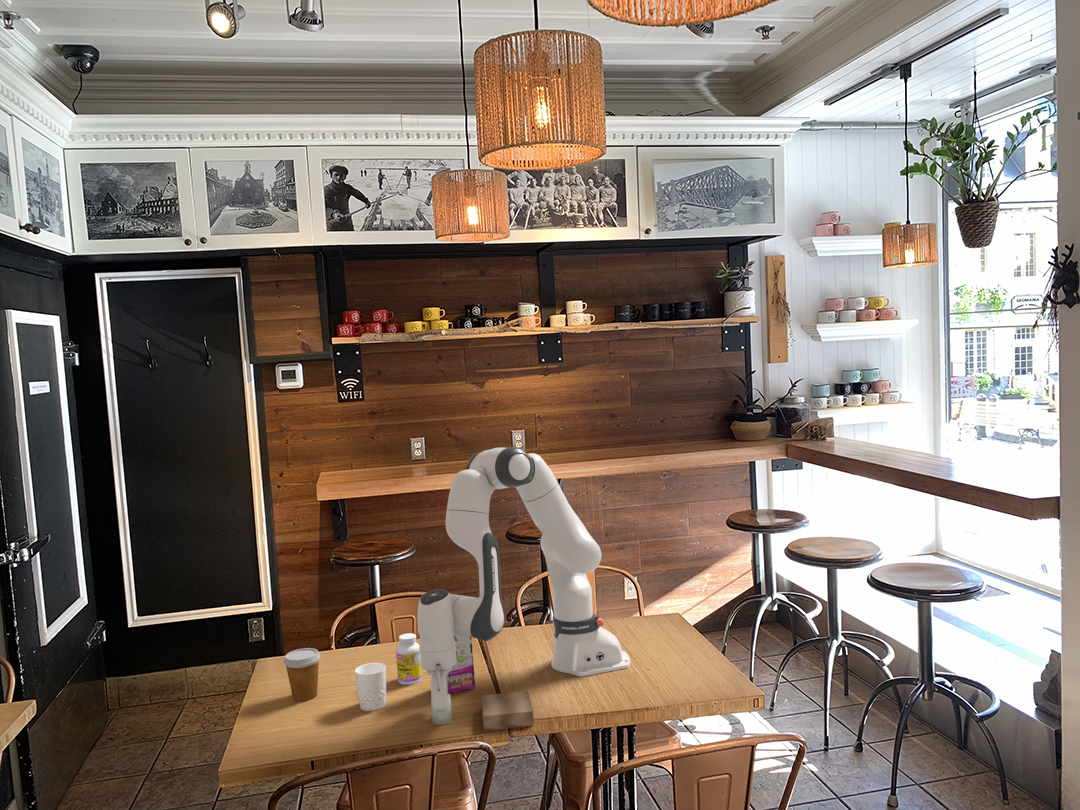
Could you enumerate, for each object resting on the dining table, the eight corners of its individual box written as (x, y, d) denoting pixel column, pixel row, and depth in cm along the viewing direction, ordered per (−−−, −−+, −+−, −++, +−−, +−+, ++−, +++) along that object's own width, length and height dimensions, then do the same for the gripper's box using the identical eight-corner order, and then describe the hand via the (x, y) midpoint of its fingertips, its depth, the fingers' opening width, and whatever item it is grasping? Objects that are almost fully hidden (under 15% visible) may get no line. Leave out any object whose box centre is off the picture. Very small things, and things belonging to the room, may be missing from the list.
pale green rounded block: (451, 715, 204) (450, 691, 204) (452, 723, 199) (450, 699, 199) (432, 717, 203) (431, 693, 203) (432, 725, 199) (430, 701, 198)
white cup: (351, 706, 212) (349, 669, 212) (377, 696, 218) (374, 660, 217) (368, 715, 207) (365, 676, 206) (394, 704, 212) (391, 667, 211)
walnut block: (528, 706, 208) (528, 690, 207) (533, 727, 196) (532, 711, 196) (481, 710, 206) (481, 695, 206) (484, 732, 195) (483, 716, 194)
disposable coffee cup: (330, 693, 222) (327, 650, 221) (304, 707, 213) (300, 662, 213) (305, 687, 226) (302, 645, 226) (279, 701, 218) (275, 657, 218)
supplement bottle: (393, 683, 226) (390, 638, 225) (407, 674, 232) (404, 630, 231) (412, 687, 223) (409, 641, 222) (426, 678, 228) (423, 633, 228)
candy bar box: (472, 682, 223) (468, 624, 222) (475, 689, 219) (472, 630, 218) (431, 689, 220) (427, 630, 219) (434, 697, 216) (430, 636, 214)
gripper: (451, 672, 190) (455, 729, 191) (450, 641, 211) (454, 693, 211) (424, 675, 190) (428, 732, 190) (426, 644, 210) (429, 696, 211)
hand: (441, 711), depth 201 cm, fingers closed on pale green rounded block, 5 cm apart
